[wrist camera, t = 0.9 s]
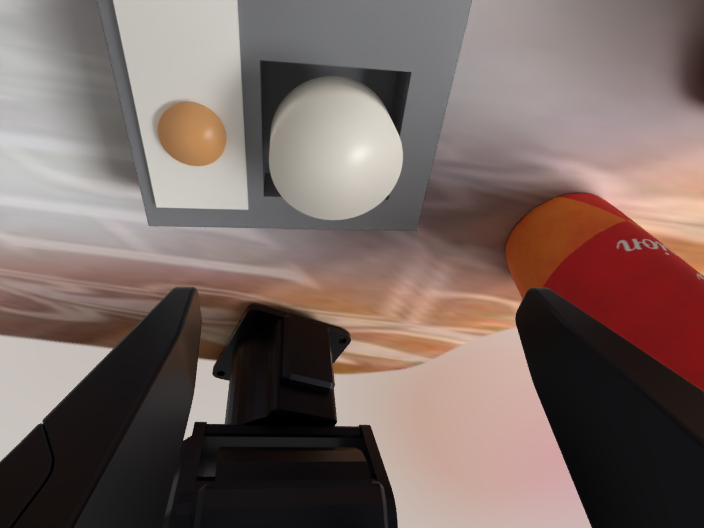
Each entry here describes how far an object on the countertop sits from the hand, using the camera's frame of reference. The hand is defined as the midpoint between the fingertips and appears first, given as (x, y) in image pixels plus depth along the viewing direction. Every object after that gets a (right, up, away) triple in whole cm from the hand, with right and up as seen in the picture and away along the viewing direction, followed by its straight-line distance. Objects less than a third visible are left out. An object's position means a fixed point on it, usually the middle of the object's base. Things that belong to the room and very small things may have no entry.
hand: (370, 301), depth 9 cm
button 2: (-1, +5, +6) cm, 8 cm away
